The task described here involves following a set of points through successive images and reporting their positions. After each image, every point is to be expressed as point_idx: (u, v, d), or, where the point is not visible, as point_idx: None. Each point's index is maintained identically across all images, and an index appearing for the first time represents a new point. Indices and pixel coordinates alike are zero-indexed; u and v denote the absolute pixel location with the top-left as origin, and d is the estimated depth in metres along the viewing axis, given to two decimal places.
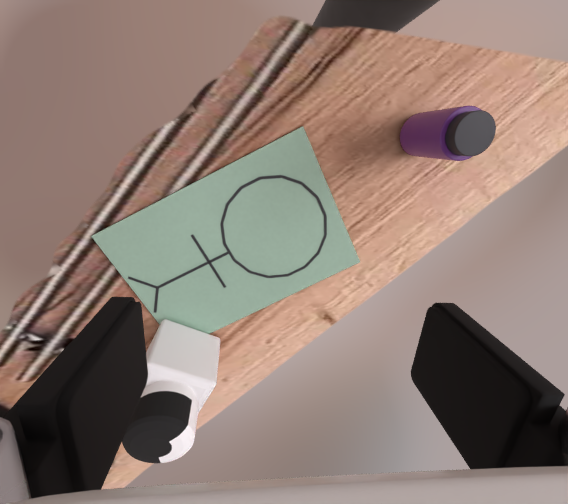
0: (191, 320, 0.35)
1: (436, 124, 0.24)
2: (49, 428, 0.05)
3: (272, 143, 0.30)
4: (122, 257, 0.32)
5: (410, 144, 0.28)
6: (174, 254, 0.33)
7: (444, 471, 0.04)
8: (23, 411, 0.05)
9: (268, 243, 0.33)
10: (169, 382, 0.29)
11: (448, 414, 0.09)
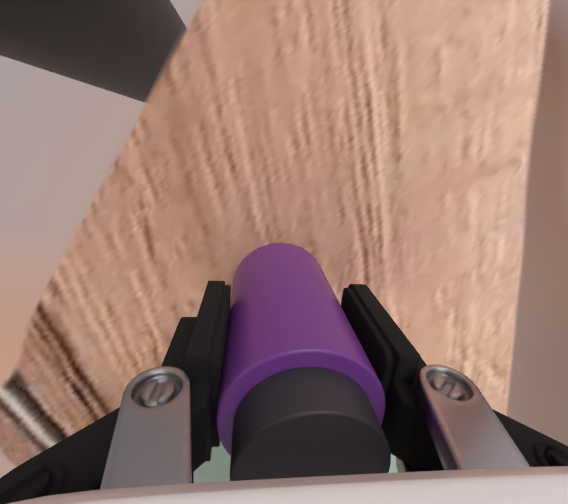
0: None
1: None
2: (204, 377, 0.07)
3: None
4: None
5: None
6: None
7: (444, 471, 0.04)
8: (190, 361, 0.07)
9: None
10: None
11: None
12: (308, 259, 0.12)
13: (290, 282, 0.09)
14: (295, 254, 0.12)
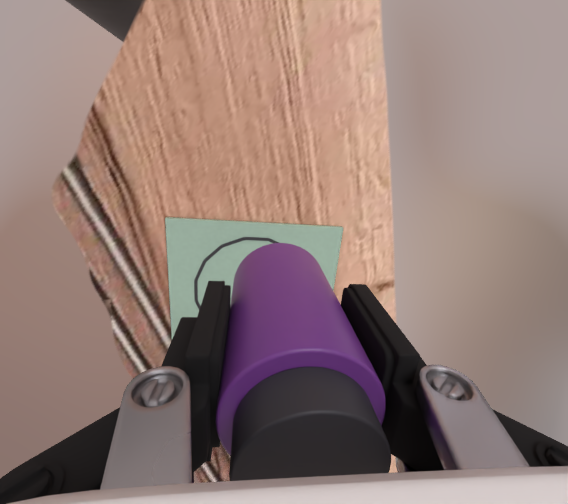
0: None
1: None
2: (205, 377, 0.07)
3: (168, 253, 0.28)
4: None
5: None
6: None
7: (444, 471, 0.04)
8: (190, 361, 0.07)
9: None
10: None
11: None
12: (308, 259, 0.12)
13: (290, 282, 0.09)
14: (295, 254, 0.12)
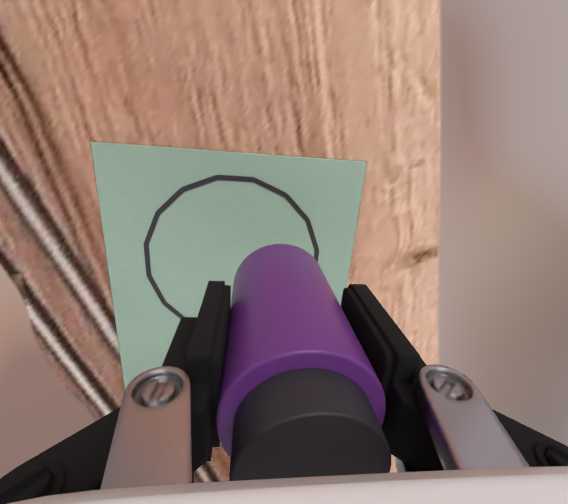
0: None
1: None
2: (205, 376, 0.07)
3: (100, 201, 0.18)
4: None
5: None
6: None
7: (444, 471, 0.04)
8: (190, 361, 0.07)
9: None
10: None
11: None
12: (308, 260, 0.12)
13: (290, 283, 0.09)
14: (295, 255, 0.12)
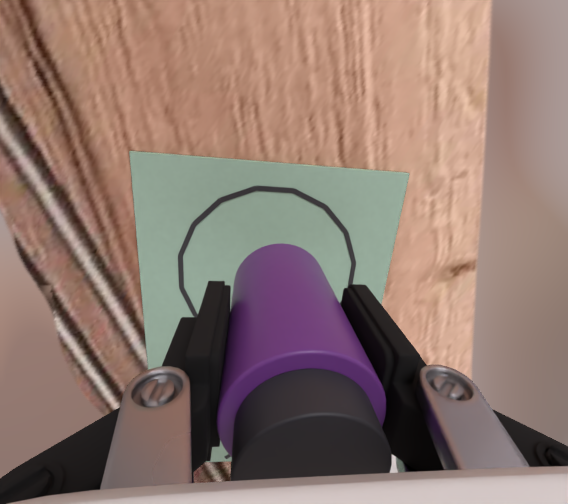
0: None
1: None
2: (204, 377, 0.07)
3: (136, 212, 0.18)
4: None
5: None
6: None
7: (444, 471, 0.04)
8: (190, 361, 0.07)
9: None
10: None
11: None
12: (308, 259, 0.12)
13: (291, 283, 0.09)
14: (295, 254, 0.12)
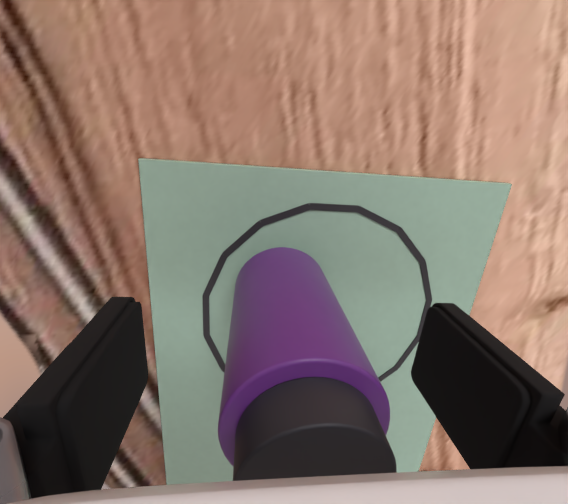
0: None
1: None
2: (49, 428, 0.05)
3: (147, 240, 0.13)
4: None
5: None
6: None
7: (444, 471, 0.04)
8: (23, 411, 0.05)
9: None
10: None
11: (448, 414, 0.09)
12: (310, 263, 0.12)
13: (293, 288, 0.09)
14: (297, 258, 0.12)
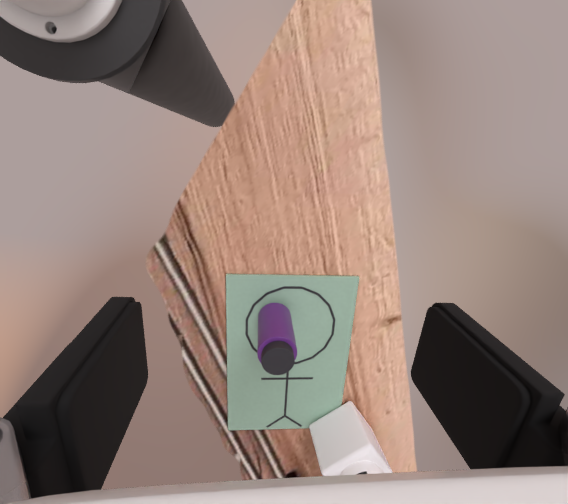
0: (323, 409, 0.43)
1: None
2: (49, 428, 0.05)
3: (227, 300, 0.37)
4: (251, 422, 0.43)
5: None
6: (268, 394, 0.42)
7: (444, 471, 0.04)
8: (23, 411, 0.05)
9: (298, 335, 0.39)
10: (344, 470, 0.37)
11: (448, 414, 0.09)
12: (283, 309, 0.35)
13: (276, 319, 0.33)
14: (279, 307, 0.35)
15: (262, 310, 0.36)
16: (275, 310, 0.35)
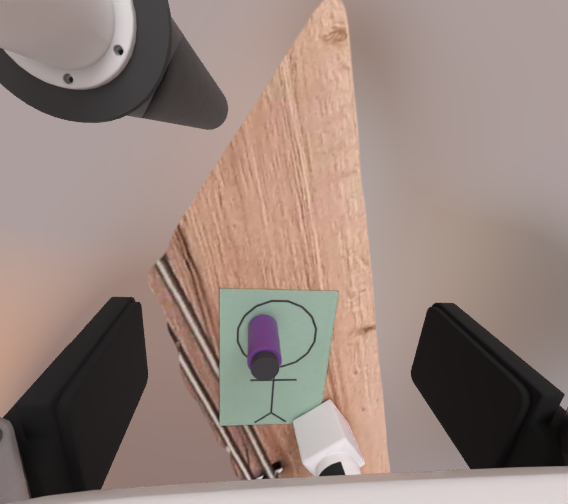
0: (305, 407, 0.48)
1: None
2: (49, 428, 0.05)
3: (220, 311, 0.41)
4: (241, 418, 0.48)
5: None
6: (256, 394, 0.46)
7: (444, 471, 0.04)
8: (23, 411, 0.05)
9: (284, 342, 0.44)
10: (322, 461, 0.42)
11: (448, 414, 0.09)
12: (270, 320, 0.40)
13: (264, 331, 0.37)
14: (266, 319, 0.40)
15: (252, 321, 0.40)
16: (263, 322, 0.39)
